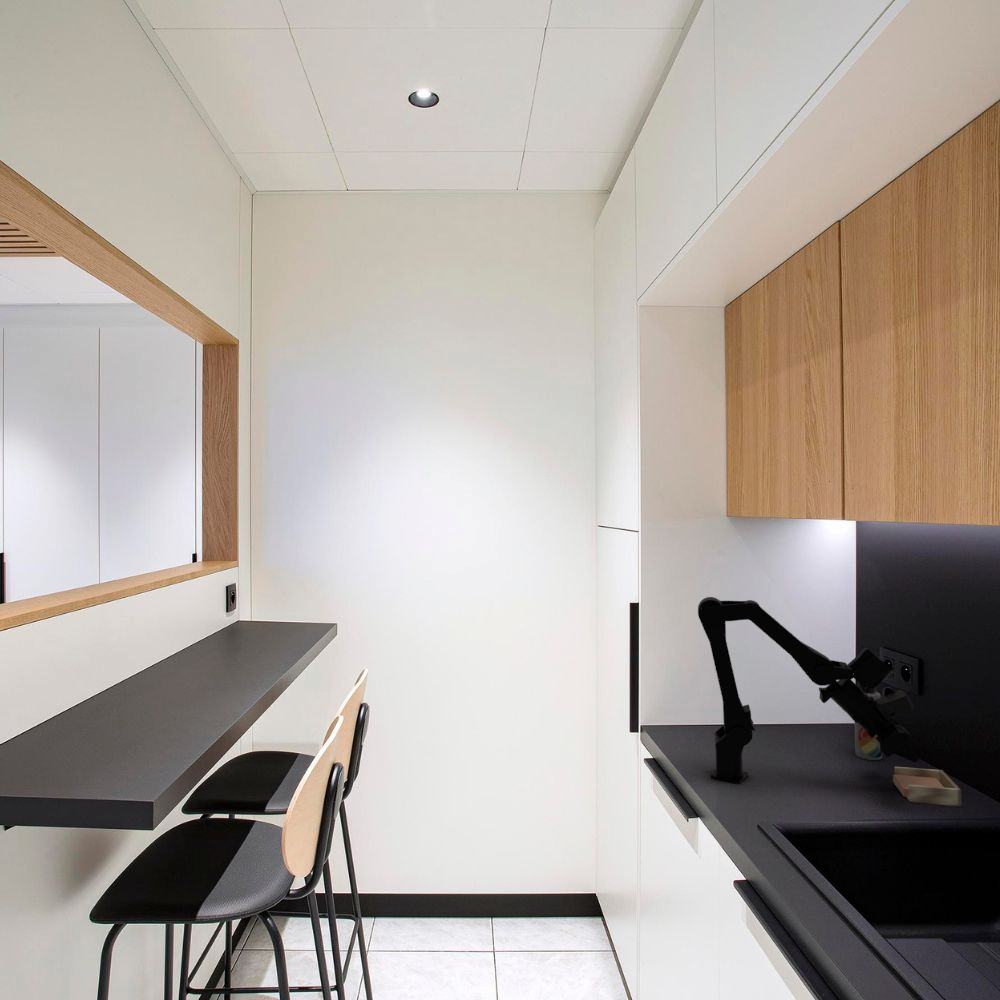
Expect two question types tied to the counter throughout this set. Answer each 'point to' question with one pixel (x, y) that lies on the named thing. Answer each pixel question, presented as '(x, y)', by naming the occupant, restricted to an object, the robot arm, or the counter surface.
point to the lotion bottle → (863, 741)
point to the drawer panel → (913, 782)
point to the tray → (932, 795)
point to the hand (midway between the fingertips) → (916, 760)
